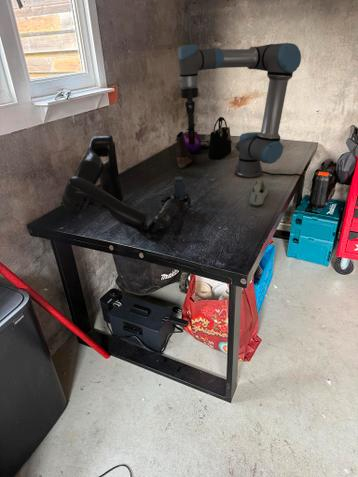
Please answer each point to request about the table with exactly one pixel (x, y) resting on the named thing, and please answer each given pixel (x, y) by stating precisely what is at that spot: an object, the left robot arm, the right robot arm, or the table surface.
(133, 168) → the table surface
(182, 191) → the jar
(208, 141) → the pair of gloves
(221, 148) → the handbag
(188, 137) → the lid
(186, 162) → the boot
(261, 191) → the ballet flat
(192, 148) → the decorative orb
